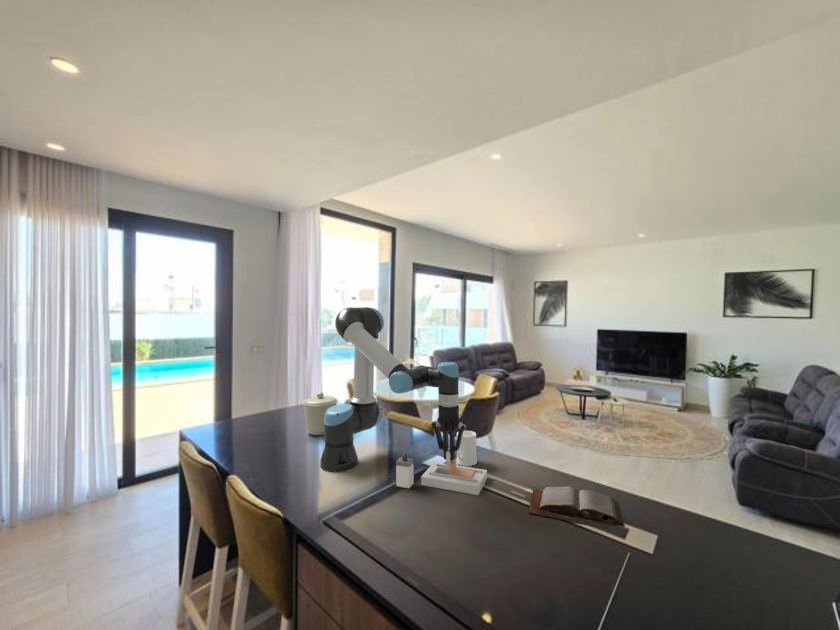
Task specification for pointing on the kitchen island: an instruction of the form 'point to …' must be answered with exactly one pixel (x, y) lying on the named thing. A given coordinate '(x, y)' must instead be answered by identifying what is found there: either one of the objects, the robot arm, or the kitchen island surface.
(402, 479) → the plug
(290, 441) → the kitchen island surface
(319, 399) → the canister
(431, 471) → the white tray
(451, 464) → the shutter
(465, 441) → the mug
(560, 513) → the book
